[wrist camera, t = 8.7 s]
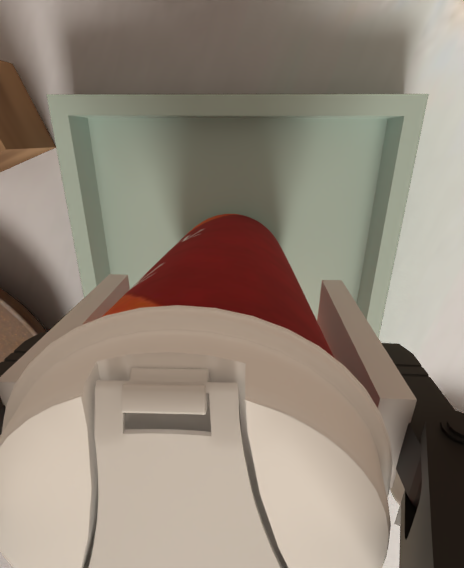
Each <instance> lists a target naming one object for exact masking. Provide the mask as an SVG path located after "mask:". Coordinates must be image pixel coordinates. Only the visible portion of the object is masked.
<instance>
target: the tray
mask: <svg viewBox="0 0 464 568" xmlns="http://www.w3.org/2000/svg"><path fill="white" fill-rule="evenodd" d="M428 95H429V94H72V95H47V100H48V106H49V111H50V116H51V122H52V127H53V133H54V138H55V143H56V149H57V154H58V160H59V165H60V170H61V176H62V181H63V187H64V192H65V197H66V203H67V208H68V214H69V219H70V224H71V230H72V235H73V240H74V246H75V251H76V257H77V262H78V267H79V273H80V278H81V284H82V289H83V294H84V298H85V297H86V296H87V295H88V294H89V293H90V292H91V291H92V290H93V289H94V288H95V287H96V286H97V285H99V284H100V283H101V282H102V281H103V280H104V279H105V278H106V277H107V276H108V275H109V274H120V275H128V279H129V287H130V289H131V288H132V287H133V286H134V285H135V284H136V283H137V282H138V281H139V280H140V279H141V278H142V277H143V276H144V275H145V274H146V273H147V272H148V271H149V270H150V269H151V268H152V267H153V266H154V265H155V264H156V263H157V262H158V261H159V260H160V259H161V258H162V257H163V256H164V255H165V254H166V253H167V252H168V251H169V250H170V249H171V248H173V247H174V246H175V245H176V244H177V243H178V242H179V241H180V240H181V239H182V238H183V237H184V236H185V235H186V234H187V233H188V232H190V231H191V230H192V229H193V228H194V227H195V226H197V225H198V224H200V223H201V222H203V221H204V220H206V219H208V218H211V217H213V216H217V215H222V214H239V215H244V216H247V217H250V218H252V219H255V220H256V221H258V222H260V223H261V224H263V225H264V226H265V227H266V228H267V229H268V230H269V231H270V232H271V233H272V234H273V235H274V237H275V238H276V240H277V241H278V243H279V245H280V246H281V248H282V250H283V252H284V254H285V256H286V258H287V260H288V262H289V264H290V266H291V268H292V270H293V272H294V274H295V276H296V278H297V280H298V282H299V284H300V287H301V289H302V291H303V293H304V295H305V297H306V299H307V301H308V303H309V305H310V308H311V310H312V312H313V314H314V316H315V318H316V320H317V318H318V309H319V301H320V292H321V284H322V280H342V282H343V283H344V285H345V286H346V288H347V289H348V291H349V293H350V294H351V296H352V297H353V299H354V301H355V302H356V304H357V305H358V307H359V309H360V310H361V312H362V313H363V315H364V316H365V318H366V320H367V321H368V323H369V324H370V326H371V328H372V329H373V331H374V332H375V334H376V336H377V337H378V338H379V334H380V329H381V324H382V319H383V314H384V309H385V304H386V299H387V295H388V290H389V285H390V280H391V275H392V270H393V265H394V260H395V256H396V251H397V246H398V241H399V236H400V231H401V226H402V221H403V217H404V212H405V207H406V202H407V197H408V192H409V187H410V183H411V178H412V173H413V168H414V163H415V158H416V153H417V148H418V144H419V139H420V134H421V129H422V124H423V119H424V114H425V109H426V105H427V100H428Z"/></svg>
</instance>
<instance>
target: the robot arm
mask: <svg viewBox="0 0 464 568" xmlns="http://www.w3.org/2000/svg"><path fill="white" fill-rule="evenodd" d="M129 290H130V287H129V279H128V275H120V274H109V275H108V276H107V277H106V278H105V279H104V280H103V281H102V282H101V283H100V284H99V285H97V286H96V287H95V288H94V289H93V290H92V291H91V292H90V293H89V294H88V295H87V296H86V297H85V298H84V299H83V300H82V301H80V302H79V303H78V304H77V305H76V306H75V307H74V308H73V309H72V310H71V311H70V312H69V313H68V314H67V315H66V316H65V317H63V318H62V319H61V320H60V321H59V322H58V323H57V324H56V325H55V326H54V327H53V328H52V329H51V330H50V331H49V332H47V333H45V332H41V333H39V334H37V335H35V336H33V337H31V338H29V339H28V340H26V341H24V342H23V343H22V344H21V345H20V346H19V347H18V348H16V349H15V350H14V353H11V354H10V355H8V356H7V357H6V358H5V359H4V362H1V363H0V435H1V434H2V427H3V420H4V414H5V409H6V405H7V402H8V400H9V397H10V395H11V392H12V390H13V387H14V385H15V383H16V382H17V380H18V379H19V377H20V376H21V374H22V373H23V372H24V370H25V369H26V367H27V366H28V364H29V363H30V362H31V361H32V360H33V359H34V358H35V357H37V356H38V355H39V354H40V353H41V352H42V351H43V350H44V349H45V348H46V347H47V346H48V345H49V344H50V343H52V342H53V341H55V340H57V339H58V338H60V337H61V336H63V335H65V334H66V333H68V332H70V331H71V330H73V329H74V328H76V327H78V326H81V325H83V324H86V323H88V322H91V321H93V320H96V319H98V318H101V317H102V316H103V315H104V314H105V313H106V312H107V311H108V310H109V309H110V308H111V307H112V306H113V305H114V304H115V303H116V302H117V301H118V300H120V299H121V298H122V297H123V296H124V295H125V294H126V293H127V292H128V291H129ZM317 322H318V324H319V326H320V329H321V331H322V333H323V335H324V337H325V339H326V341H327V343H328V345H329V347H330V349H331V352H332V354H333V356H334V358H335V359H336V360H338V361H339V362H340V363H341V364H343V365H344V366H345V367H346V368H347V369H348V370H349V371H350V372H351V373H352V374H353V375H354V377H355V378H356V379H357V380H358V381H359V382H360V383H361V384H362V385H363V386H364V387H365V389H366V390H367V392H368V393H369V395H370V397H371V398H372V400H373V402H374V403H375V405H376V406H377V408H378V410H379V411H380V413H381V415H382V418H383V421H384V424H385V427H386V429H387V432H388V435H389V438H390V443H391V452H392V460H393V465H392V474H391V483H390V488H392V487H393V484H394V480H395V476H396V473H398V475H399V477H400V479H401V482H402V484H403V486H404V489H405V491H404V494H403V497H402V501H401V504H400V507H399V511H398V514H397V517H396V521H395V524H397V525H399V526H400V564H399V568H464V414H463V413H461V412H458V411H455V410H454V408H453V407H452V406H451V404H450V403H449V402H448V400H447V399H446V398H445V396H444V395H443V394H442V392H441V391H440V390H439V388H438V387H437V386H436V384H435V383H434V382H433V380H432V379H431V378H430V377H428V374H427V372H426V371H425V370H424V368H422V367H421V364H420V363H419V361H418V360H417V359H416V357H415V356H414V355H413V354H412V353H411V352H410V351H408V350H407V349H405V348H404V347H402V346H401V345H400V344H390V343H381V342H380V340H379V339H378V337H377V336H376V334H375V332H374V331H373V329H372V328H371V326H370V324H369V323H368V321H367V320H366V318H365V316H364V315H363V313H362V312H361V310H360V309H359V307H358V305H357V304H356V302H355V301H354V299H353V297H352V296H351V294H350V293H349V291H348V289H347V288H346V286H345V285H344V283H343V282H342V280H322V284H321V292H320V301H319V309H318V318H317Z"/></svg>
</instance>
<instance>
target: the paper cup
mask: <svg viewBox="0 0 464 568" xmlns="http://www.w3.org/2000/svg"><path fill="white" fill-rule="evenodd" d="M392 465H393V460H392V452H391V443H390V438H389V435H388V432H387V429H386V427H385V424H384V421H383V418H382V415H381V413H380V411H379V410H378V408H377V406H376V405H375V403H374V402H373V400H372V398H371V397H370V395H369V393H368V392H367V390H366V389H365V387H364V386H363V385H362V384H361V383H360V382H359V381H358V380H357V379H356V378H355V377H354V375H353V374H352V373H351V372H350V371H349V370H348V369H347V368H346V367H345V366H344V365H343V364H341V363H340V362H339V361H338V360H336V359H335V358H334V356H333V354H332V352H331V349H330V347H329V345H328V343H327V341H326V339H325V337H324V335H323V333H322V331H321V329H320V326H319V324H318V322H317V320H316V318H315V316H314V314H313V312H312V310H311V308H310V305H309V303H308V301H307V299H306V297H305V295H304V293H303V291H302V289H301V287H300V284H299V282H298V280H297V278H296V276H295V274H294V272H293V270H292V268H291V266H290V264H289V262H288V260H287V258H286V256H285V254H284V252H283V250H282V248H281V246H280V245H279V243H278V241H277V240H276V238H275V237H274V235H273V234H272V233H271V232H270V231H269V230H268V229H267V228H266V227H265V226H264V225H263V224H261V223H260V222H258V221H256V220H255V219H252V218H250V217H247V216H244V215H239V214H222V215H217V216H213V217H211V218H208V219H206V220H204V221H203V222H201V223H200V224H198V225H197V226H195V227H194V228H193V229H192V230H191V231H190V232H188V233H187V234H186V235H185V236H184V237H183V238H182V239H181V240H180V241H179V242H178V243H177V244H176V245H175V246H174V247H173V248H171V249H170V250H169V251H168V252H167V253H166V254H165V255H164V256H163V257H162V258H161V259H160V260H159V261H158V262H157V263H156V264H155V265H154V266H153V267H152V268H151V269H150V270H149V271H148V272H147V273H146V274H145V275H144V276H143V277H142V278H141V279H140V280H139V281H138V282H137V283H136V284H135V285H134V286H133V287H132V288H131V289H130V290H129V291H128V292H127V293H126V294H125V295H124V296H123V297H122V298H121V299H120V300H118V301H117V302H116V303H115V304H114V305H113V306H112V307H111V308H110V309H109V310H108V311H107V312H106V313H105V314H104V315H103V316H102V317H101V318H98V319H96V320H93V321H91V322H88V323H86V324H83V325H81V326H78V327H76V328H74V329H73V330H71V331H70V332H68V333H66V334H65V335H63V336H61V337H60V338H58V339H57V340H55V341H53V342H52V343H50V344H49V345H48V346H47V347H46V348H45V349H44V350H43V351H42V352H41V353H40V354H39V355H38V356H37V357H35V358H34V359H33V360H32V361H31V362H30V363H29V364H28V366H27V367H26V369H25V370H24V372H23V373H22V374H21V376H20V377H19V379H18V380H17V382H16V383H15V385H14V387H13V390H12V392H11V395H10V397H9V400H8V402H7V405H6V409H5V414H4V420H3V427H2V434H1V435H0V552H1V553H2V555H3V556H4V557H5V559H6V560H7V561H8V562H9V563H10V565H11V566H12V567H13V568H382V566H383V563H384V561H385V558H386V555H387V550H388V543H389V535H390V526H391V524H390V515H389V507H388V500H387V497H388V495H389V489H390V483H391V474H392Z"/></svg>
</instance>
